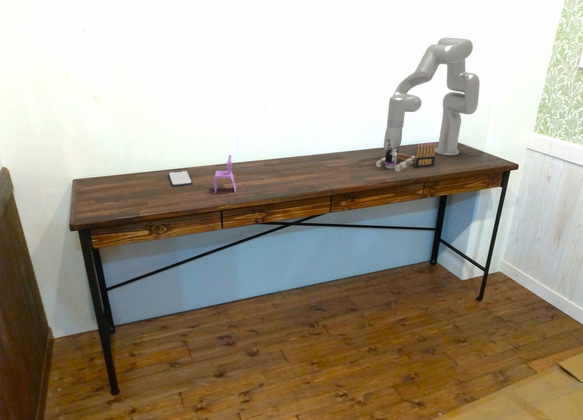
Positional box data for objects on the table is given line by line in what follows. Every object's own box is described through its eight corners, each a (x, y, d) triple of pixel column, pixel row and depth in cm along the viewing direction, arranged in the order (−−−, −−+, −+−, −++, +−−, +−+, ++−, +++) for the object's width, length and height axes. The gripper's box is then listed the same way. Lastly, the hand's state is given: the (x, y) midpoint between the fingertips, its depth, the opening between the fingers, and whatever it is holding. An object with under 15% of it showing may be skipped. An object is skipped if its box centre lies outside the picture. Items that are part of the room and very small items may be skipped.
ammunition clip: (431, 165, 225) (435, 141, 220) (434, 166, 224) (437, 142, 219) (412, 166, 222) (416, 143, 217) (414, 168, 221) (418, 144, 216)
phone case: (193, 186, 196) (187, 173, 210) (193, 182, 195) (187, 170, 209) (172, 188, 193) (168, 175, 207) (172, 185, 192) (167, 172, 206)
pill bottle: (389, 164, 225) (391, 145, 221) (398, 167, 221) (400, 148, 217) (382, 166, 221) (384, 147, 217) (391, 169, 218) (393, 150, 214)
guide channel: (394, 156, 237) (394, 152, 236) (416, 161, 230) (416, 156, 229) (376, 166, 222) (376, 161, 221) (398, 171, 215) (399, 166, 214)
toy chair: (215, 186, 194) (213, 152, 188) (236, 186, 195) (234, 152, 189) (213, 193, 187) (211, 158, 181) (235, 193, 187) (234, 158, 181)
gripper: (396, 119, 221) (392, 155, 228) (379, 125, 208) (375, 163, 216) (410, 121, 217) (406, 158, 224) (394, 128, 204) (390, 166, 212)
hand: (391, 160), depth 220 cm, fingers closed on pill bottle, 5 cm apart
